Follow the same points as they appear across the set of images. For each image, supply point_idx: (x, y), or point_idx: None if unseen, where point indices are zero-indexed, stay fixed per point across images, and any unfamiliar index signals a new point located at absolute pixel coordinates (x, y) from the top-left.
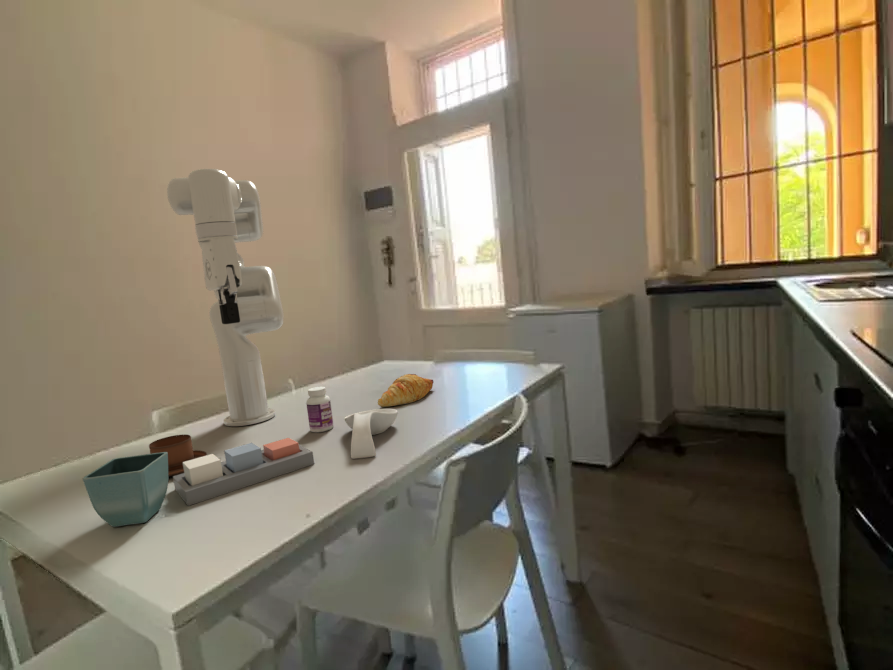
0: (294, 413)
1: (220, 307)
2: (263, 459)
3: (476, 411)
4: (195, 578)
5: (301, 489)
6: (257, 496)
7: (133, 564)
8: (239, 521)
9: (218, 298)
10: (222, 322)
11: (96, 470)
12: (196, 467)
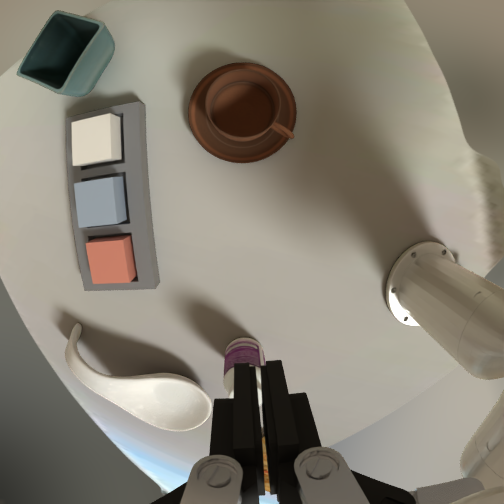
0: (381, 346)
1: (276, 432)
2: (101, 227)
3: (150, 467)
4: None
5: (33, 242)
6: (44, 196)
7: (7, 84)
8: (9, 169)
9: (338, 486)
10: (271, 363)
11: (70, 16)
12: (72, 132)
